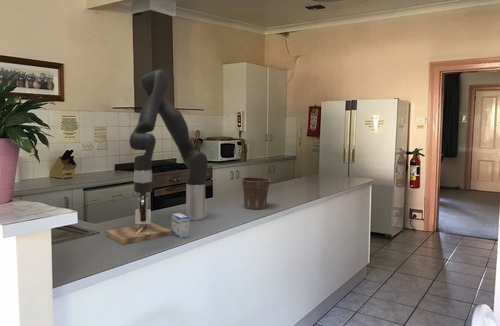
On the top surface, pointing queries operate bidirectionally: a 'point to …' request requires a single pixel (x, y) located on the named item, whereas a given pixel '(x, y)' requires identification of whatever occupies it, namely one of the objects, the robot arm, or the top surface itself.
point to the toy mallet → (142, 224)
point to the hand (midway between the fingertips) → (143, 220)
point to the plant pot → (255, 192)
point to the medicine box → (180, 225)
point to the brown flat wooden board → (131, 235)
